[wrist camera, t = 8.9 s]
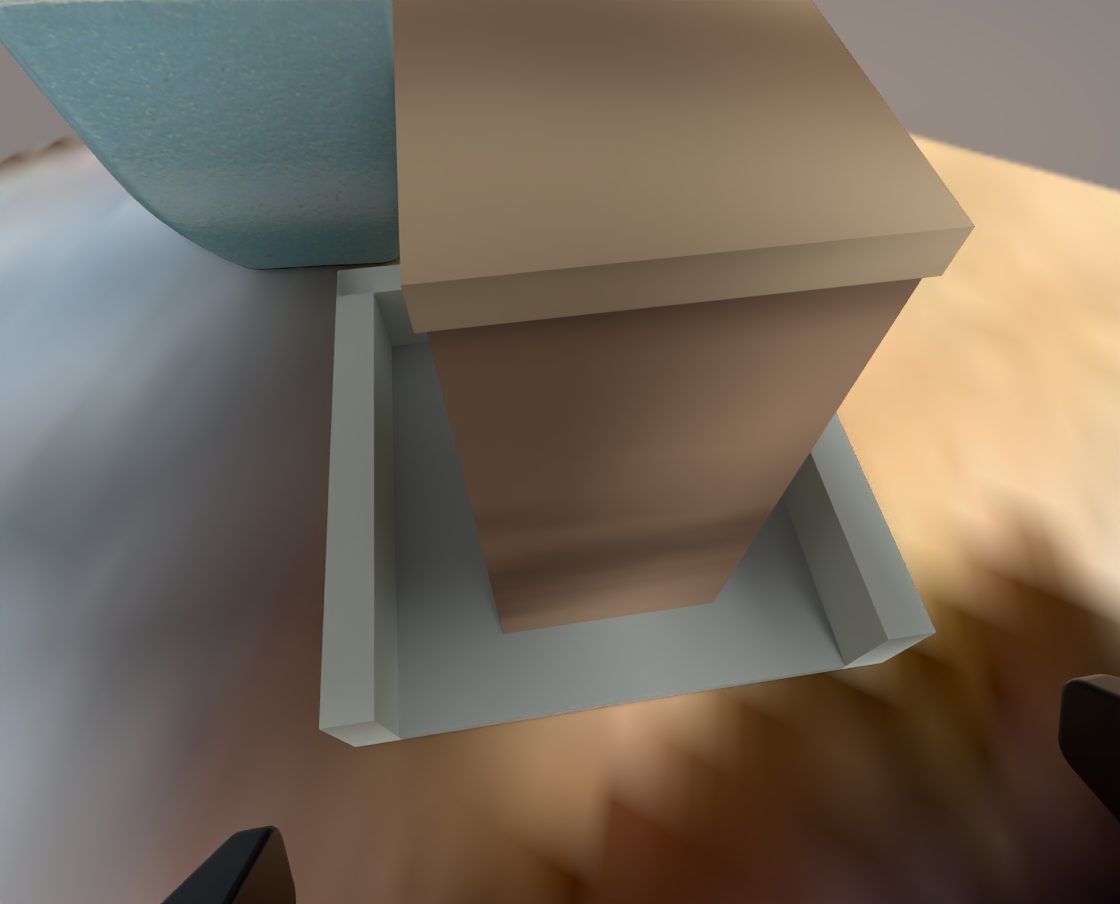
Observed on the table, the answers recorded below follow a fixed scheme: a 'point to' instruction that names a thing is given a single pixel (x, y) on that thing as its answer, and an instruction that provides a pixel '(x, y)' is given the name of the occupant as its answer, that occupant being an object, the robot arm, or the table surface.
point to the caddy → (645, 274)
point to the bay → (567, 650)
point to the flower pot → (232, 116)
